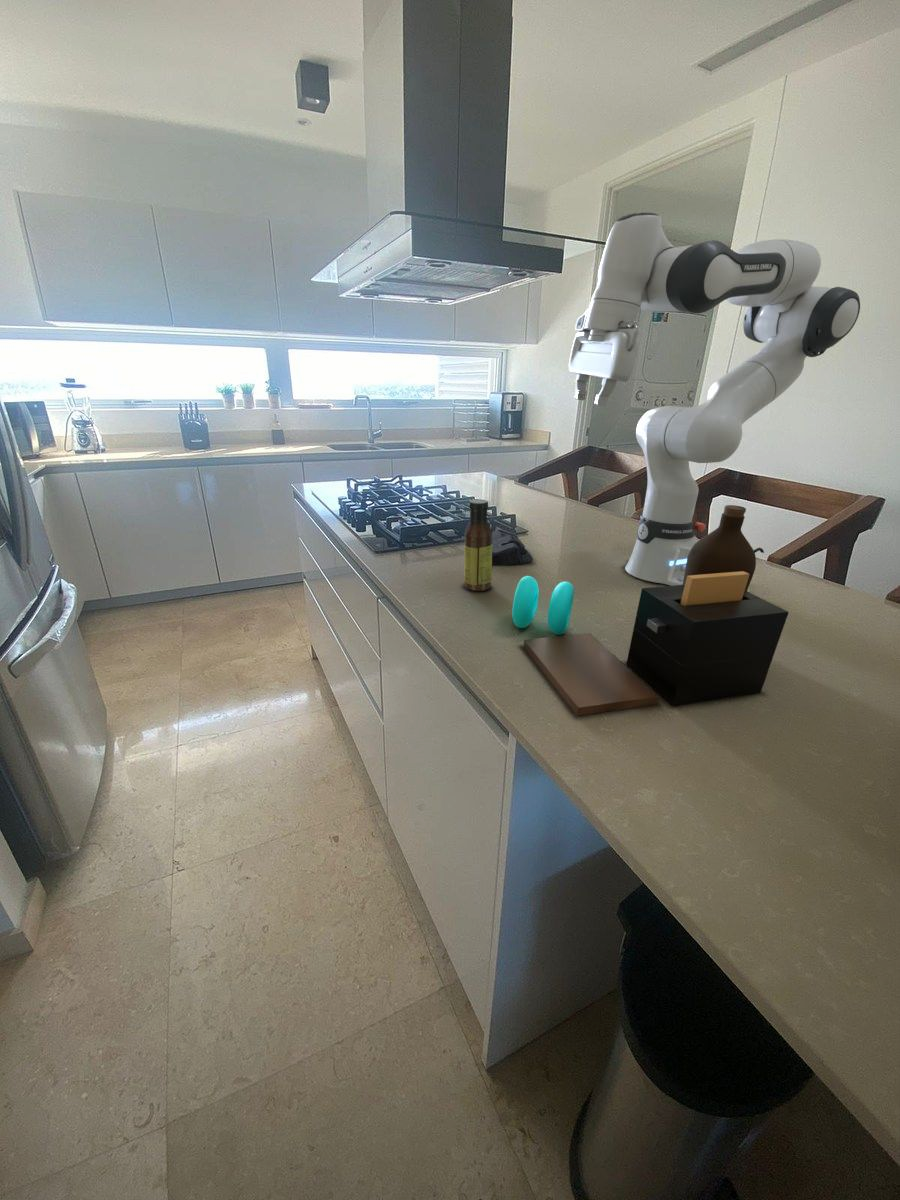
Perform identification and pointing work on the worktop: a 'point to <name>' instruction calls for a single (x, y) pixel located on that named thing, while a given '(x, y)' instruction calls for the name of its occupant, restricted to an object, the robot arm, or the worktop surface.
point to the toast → (714, 588)
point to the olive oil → (723, 548)
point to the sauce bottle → (478, 548)
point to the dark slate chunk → (508, 549)
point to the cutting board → (588, 674)
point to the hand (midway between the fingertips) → (588, 402)
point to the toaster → (703, 645)
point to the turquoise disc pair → (528, 603)
